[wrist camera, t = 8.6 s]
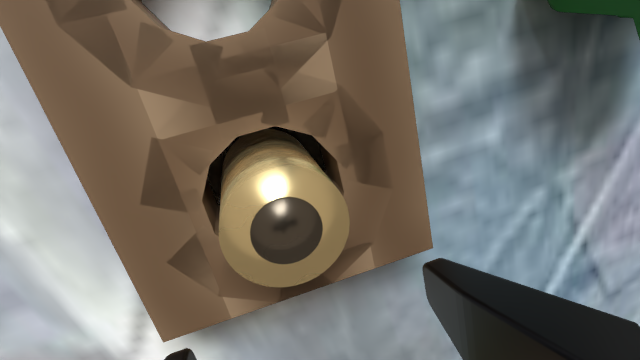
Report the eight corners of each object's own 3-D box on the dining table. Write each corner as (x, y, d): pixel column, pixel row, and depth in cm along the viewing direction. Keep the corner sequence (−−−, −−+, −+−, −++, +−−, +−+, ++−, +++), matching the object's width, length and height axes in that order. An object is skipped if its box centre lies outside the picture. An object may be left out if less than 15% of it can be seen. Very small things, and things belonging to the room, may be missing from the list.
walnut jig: (331, -217, 13) (360, -294, 10) (403, 220, 19) (432, 248, 16) (-43, -161, 11) (-134, -234, 8) (173, 297, 17) (163, 342, 15)
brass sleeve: (298, 118, 16) (335, 151, 11) (319, 198, 18) (361, 265, 12) (209, 143, 16) (198, 192, 10) (238, 223, 17) (242, 306, 11)
